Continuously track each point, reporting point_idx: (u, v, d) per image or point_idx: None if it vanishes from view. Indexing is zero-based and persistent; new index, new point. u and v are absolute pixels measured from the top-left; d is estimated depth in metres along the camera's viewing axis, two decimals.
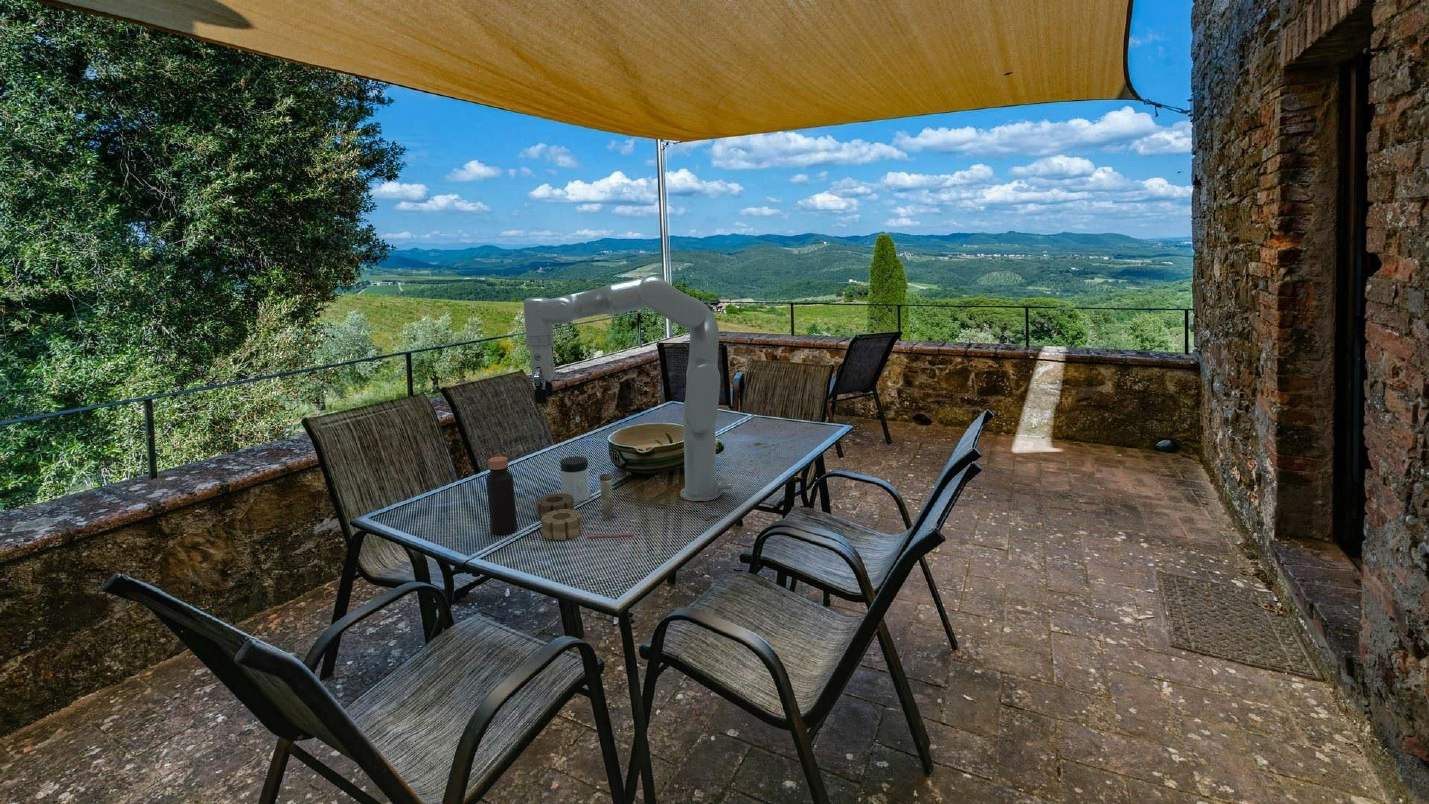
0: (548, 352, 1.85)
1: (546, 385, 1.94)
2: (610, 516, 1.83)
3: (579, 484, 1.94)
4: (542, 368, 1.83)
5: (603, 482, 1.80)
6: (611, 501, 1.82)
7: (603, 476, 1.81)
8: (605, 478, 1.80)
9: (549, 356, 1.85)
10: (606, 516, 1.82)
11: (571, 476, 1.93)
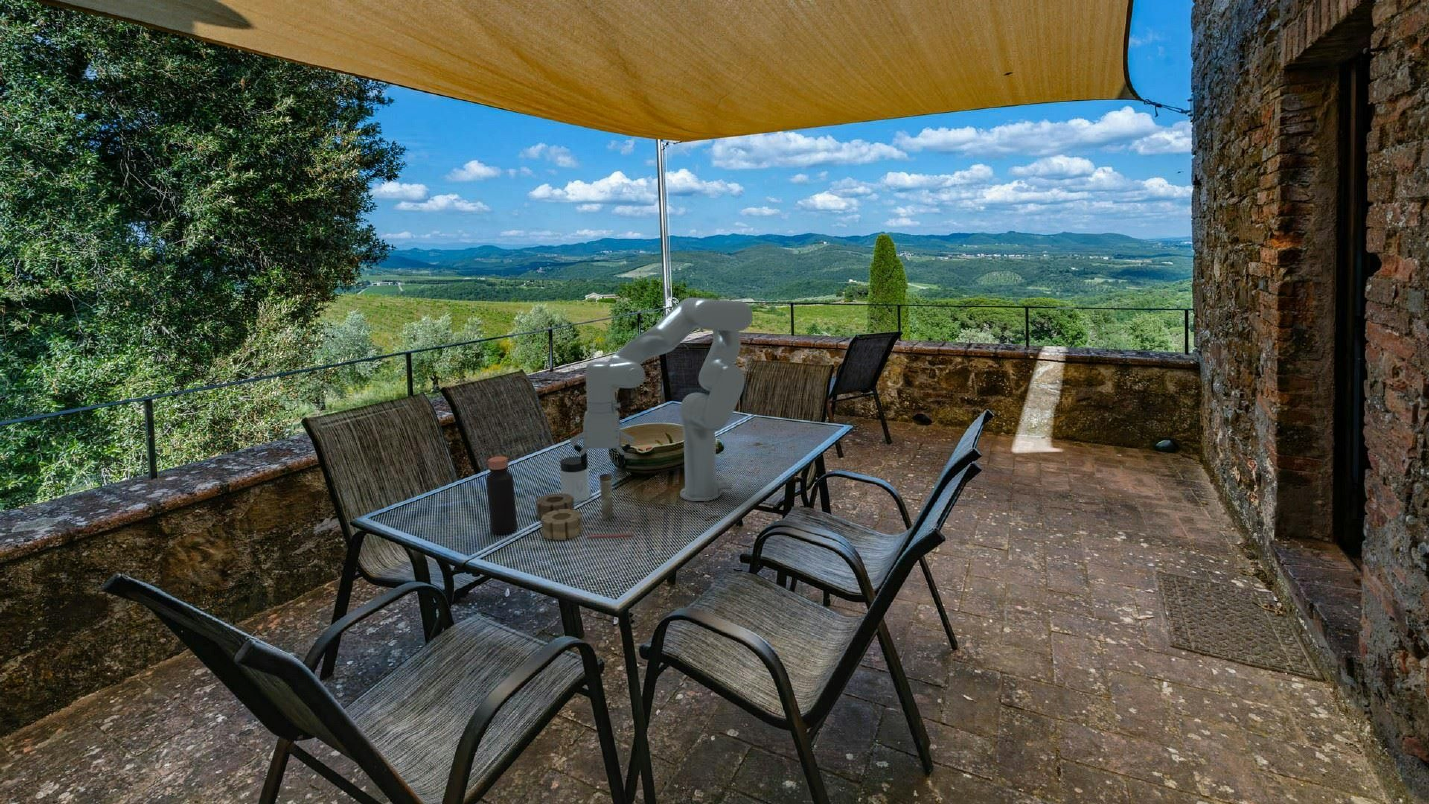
0: None
1: (586, 456, 1.80)
2: (610, 516, 1.83)
3: (579, 484, 1.94)
4: (620, 431, 1.80)
5: (603, 482, 1.80)
6: (611, 501, 1.82)
7: (603, 476, 1.81)
8: (605, 478, 1.80)
9: None
10: (606, 516, 1.82)
11: (571, 476, 1.93)
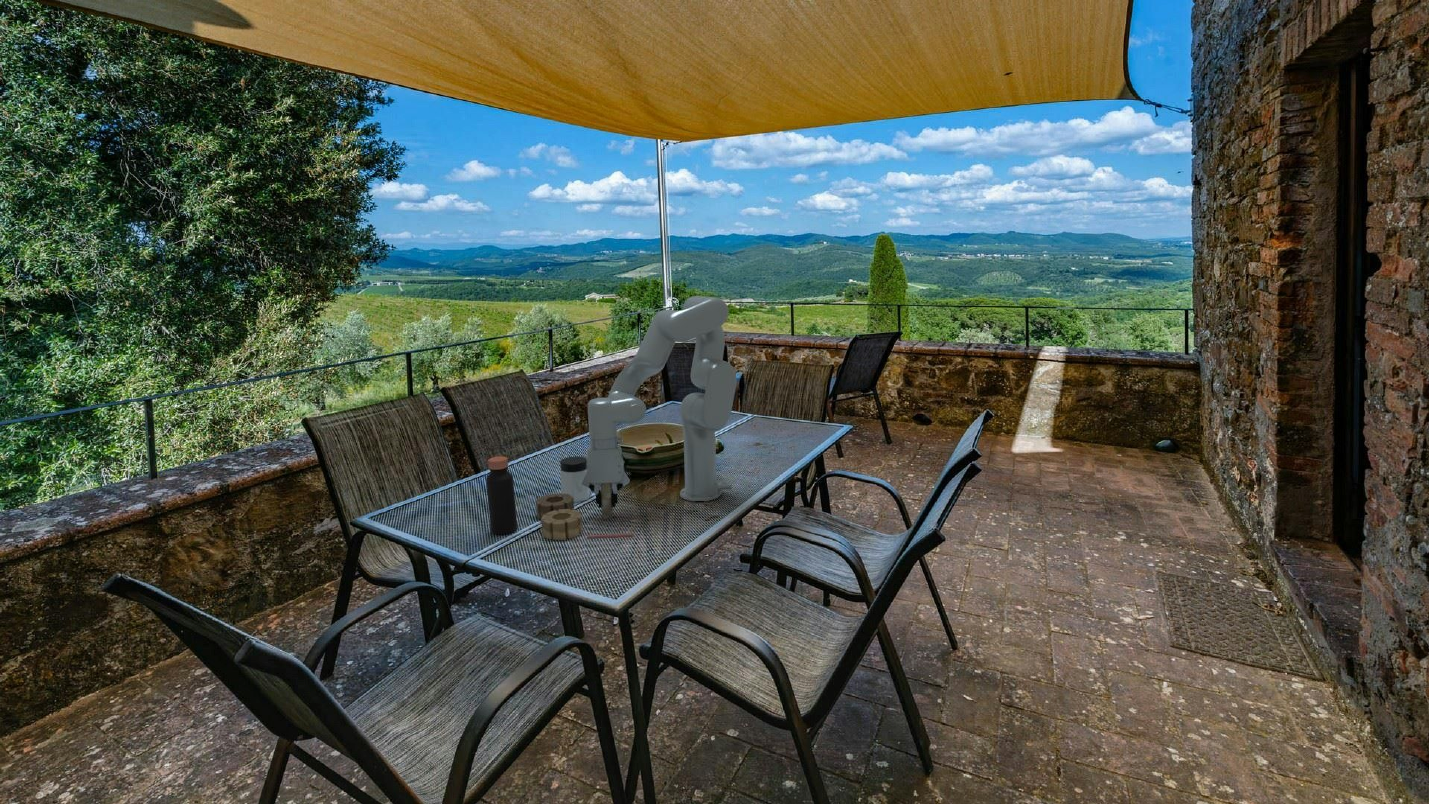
0: None
1: None
2: (610, 516, 1.83)
3: (579, 484, 1.94)
4: (623, 465, 1.82)
5: None
6: (611, 501, 1.82)
7: None
8: None
9: None
10: (606, 516, 1.82)
11: (571, 476, 1.93)
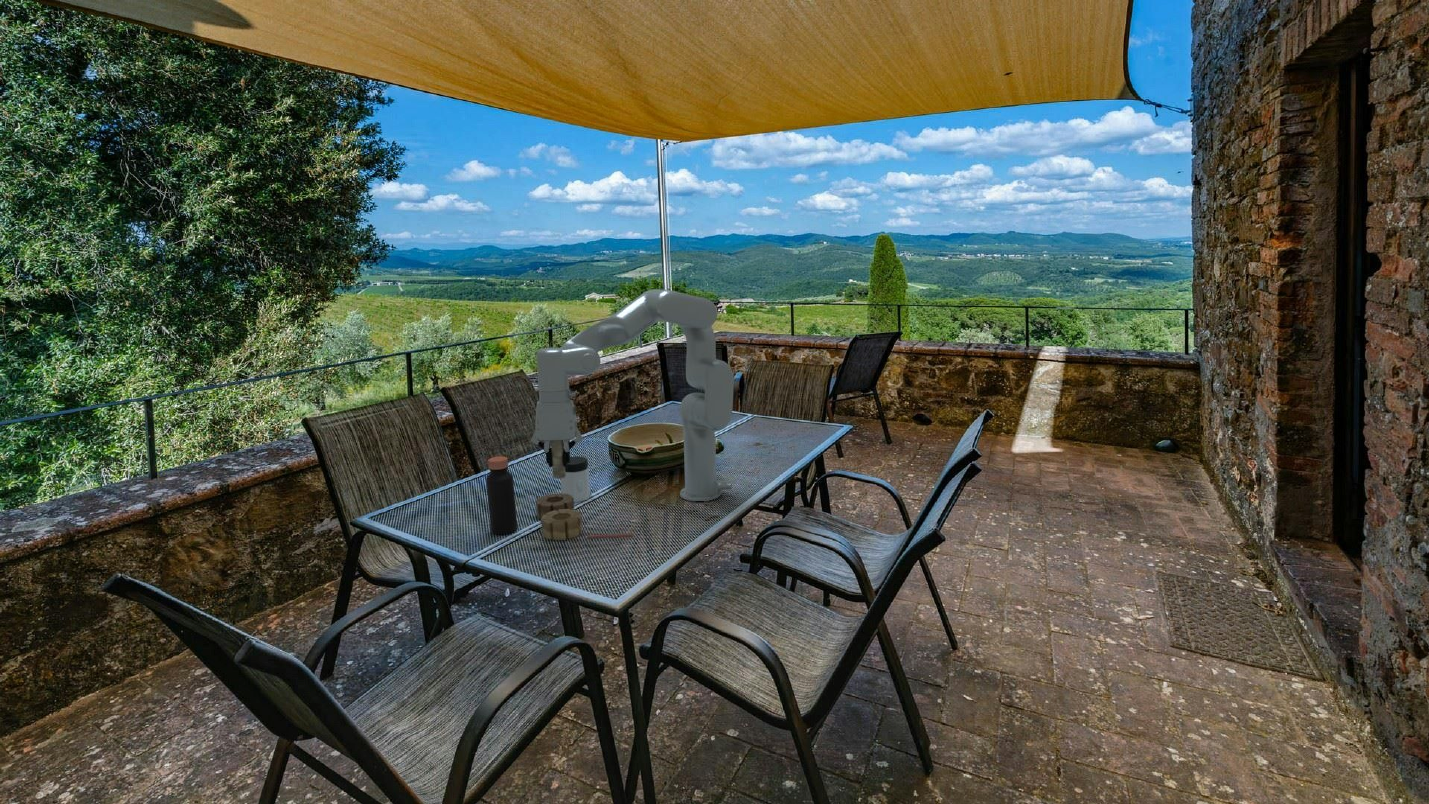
0: None
1: (551, 453, 1.69)
2: (561, 476, 1.69)
3: (579, 484, 1.94)
4: (576, 422, 1.69)
5: None
6: (562, 460, 1.69)
7: None
8: None
9: None
10: (557, 476, 1.69)
11: (571, 476, 1.93)
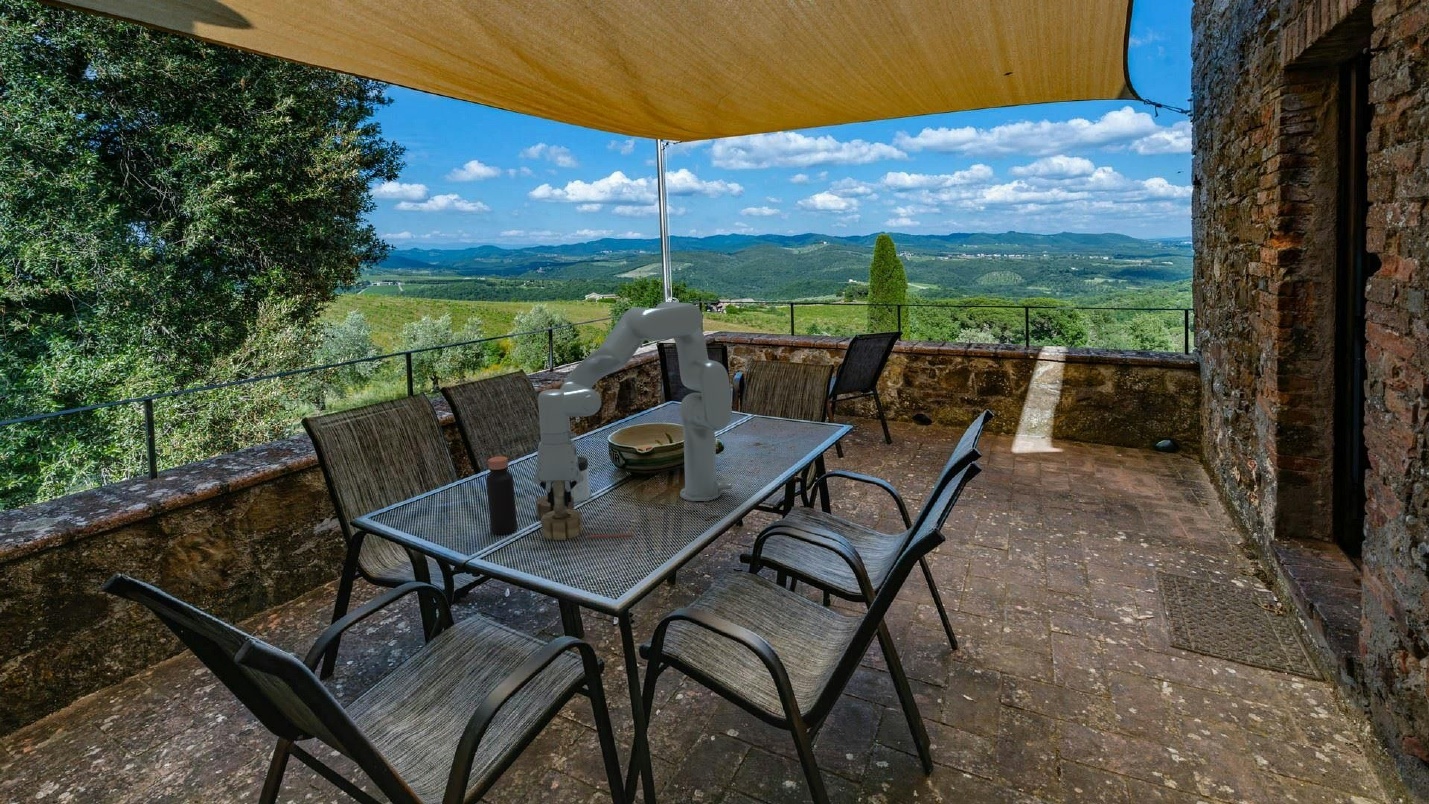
0: None
1: None
2: (563, 516, 1.71)
3: (579, 484, 1.94)
4: (577, 462, 1.71)
5: None
6: (564, 500, 1.71)
7: None
8: None
9: None
10: (558, 516, 1.71)
11: None
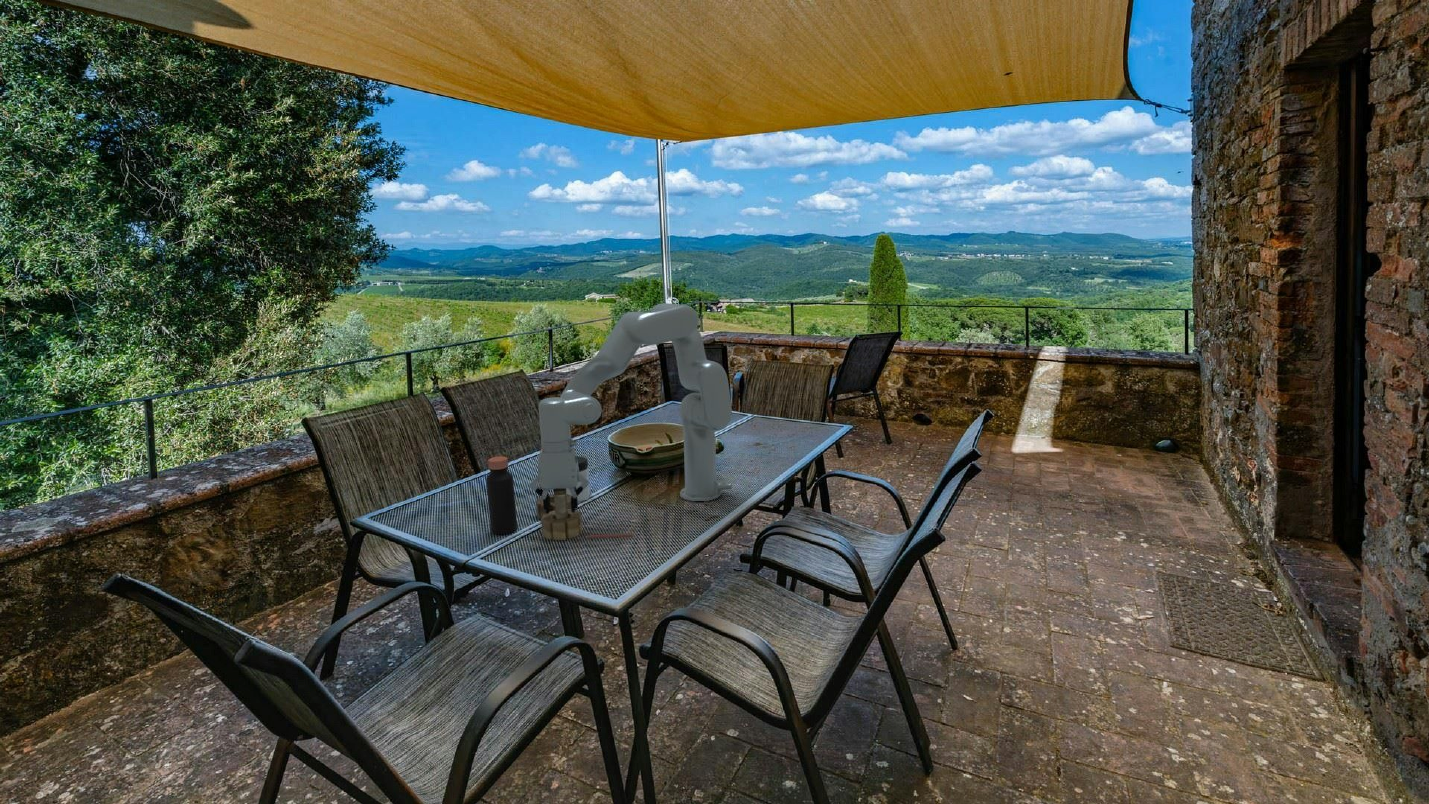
0: None
1: (549, 499, 1.71)
2: None
3: (579, 484, 1.94)
4: (578, 469, 1.71)
5: (557, 496, 1.70)
6: (566, 516, 1.72)
7: (557, 490, 1.70)
8: (559, 492, 1.70)
9: None
10: None
11: None
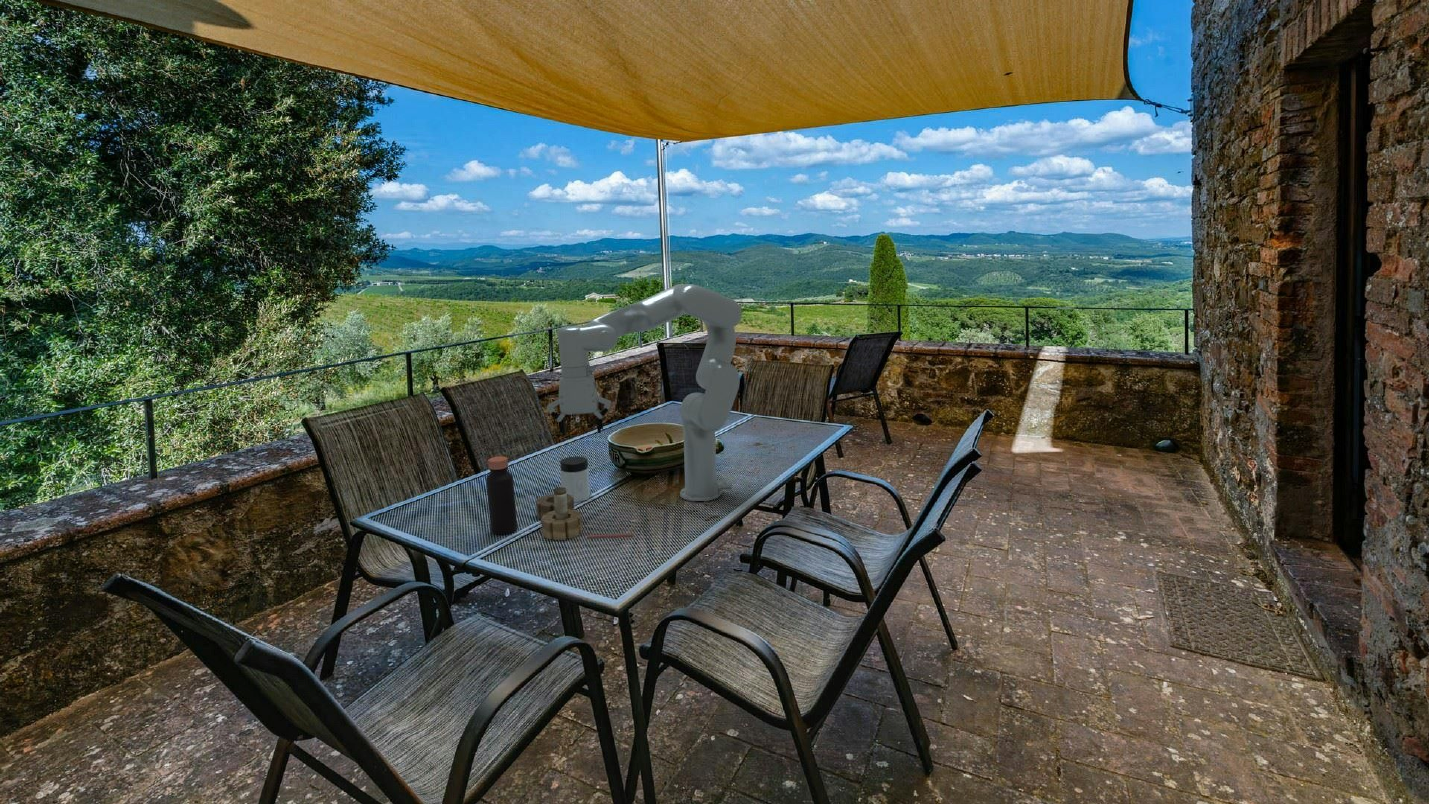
0: None
1: (564, 422, 1.78)
2: None
3: (579, 484, 1.94)
4: None
5: (557, 496, 1.70)
6: (566, 516, 1.72)
7: (557, 490, 1.70)
8: (559, 492, 1.70)
9: None
10: None
11: (571, 476, 1.93)
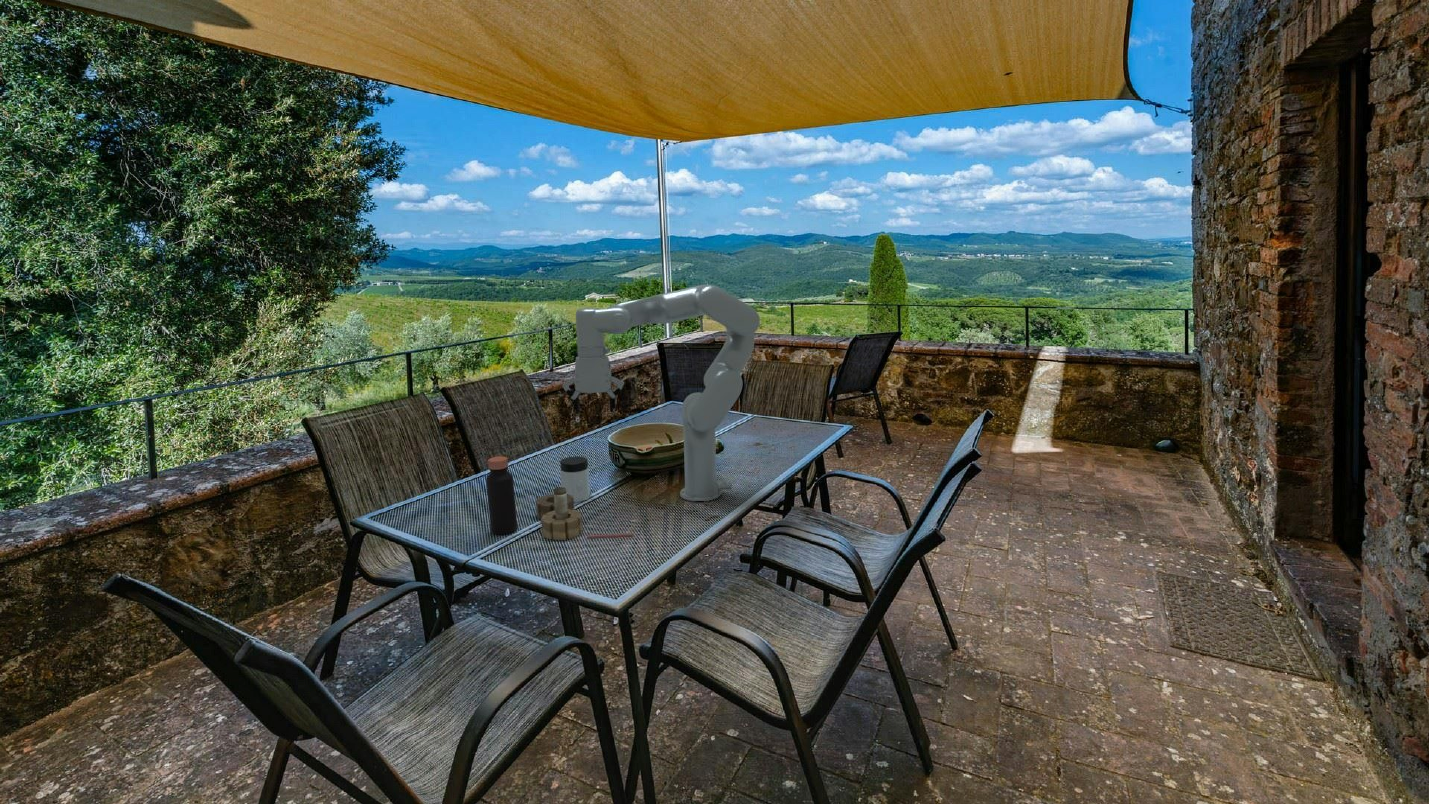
0: None
1: (578, 400, 1.86)
2: None
3: (579, 484, 1.94)
4: None
5: (557, 496, 1.70)
6: (566, 516, 1.72)
7: (557, 490, 1.70)
8: (559, 492, 1.70)
9: None
10: None
11: (571, 476, 1.93)
